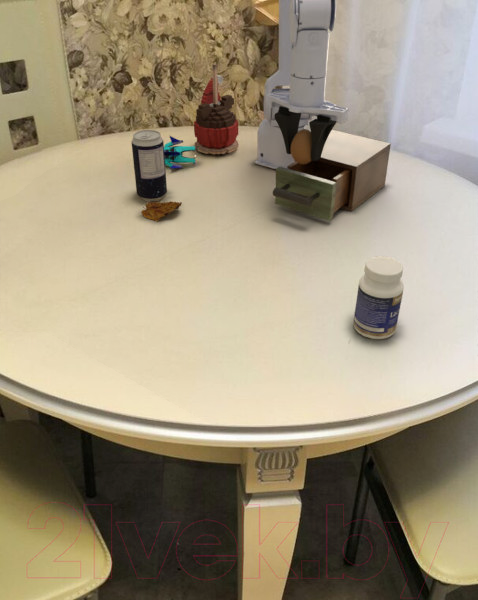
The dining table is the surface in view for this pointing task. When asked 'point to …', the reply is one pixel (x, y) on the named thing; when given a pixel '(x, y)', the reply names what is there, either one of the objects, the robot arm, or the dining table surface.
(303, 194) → the drawer
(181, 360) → the dining table surface
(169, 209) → the leaf
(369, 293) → the pill bottle
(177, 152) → the figurine
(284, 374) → the dining table surface
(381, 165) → the cabinet
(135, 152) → the beverage can
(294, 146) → the egg
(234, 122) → the cake
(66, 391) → the dining table surface
